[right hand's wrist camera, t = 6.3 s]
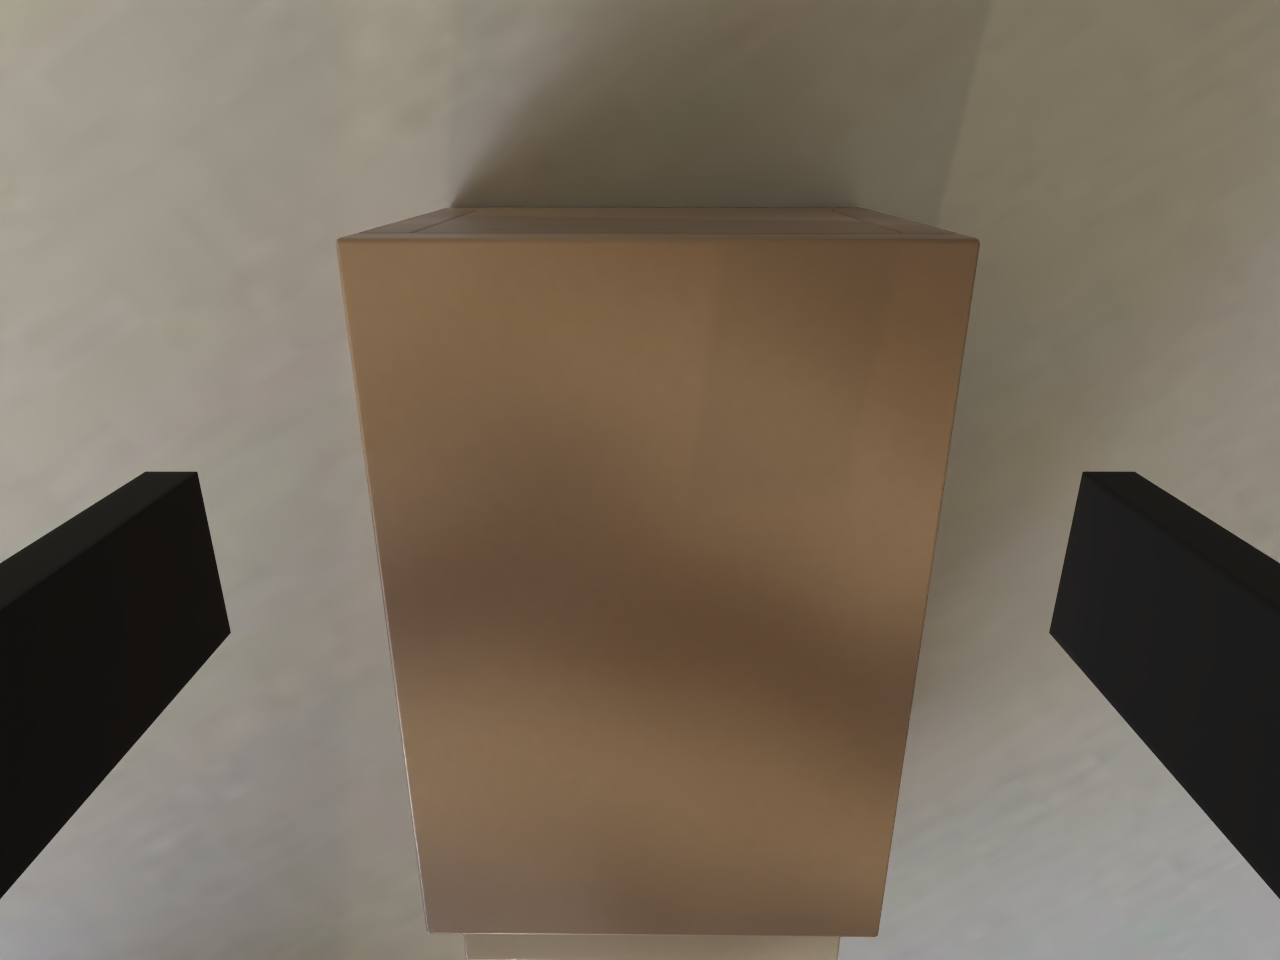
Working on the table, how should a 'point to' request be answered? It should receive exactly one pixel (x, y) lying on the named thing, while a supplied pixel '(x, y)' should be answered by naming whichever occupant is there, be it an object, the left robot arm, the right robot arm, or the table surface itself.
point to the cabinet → (655, 552)
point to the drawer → (648, 947)
